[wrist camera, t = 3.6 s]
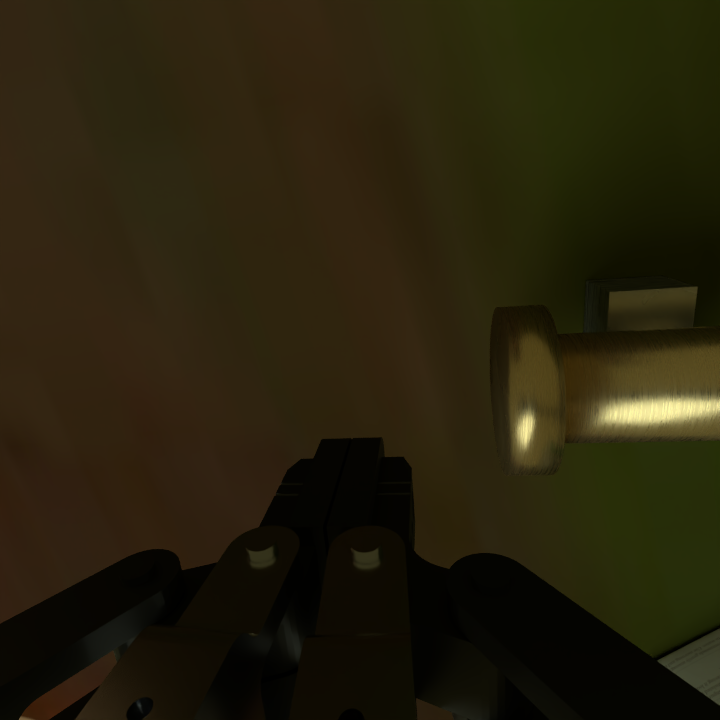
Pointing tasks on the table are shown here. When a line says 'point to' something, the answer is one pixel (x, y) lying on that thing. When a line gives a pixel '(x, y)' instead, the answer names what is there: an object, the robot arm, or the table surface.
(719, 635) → the skincare box
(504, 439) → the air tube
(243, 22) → the table surface
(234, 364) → the table surface
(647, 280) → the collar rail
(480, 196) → the table surface
